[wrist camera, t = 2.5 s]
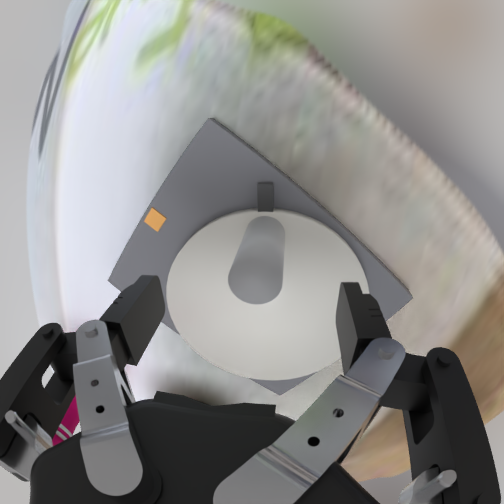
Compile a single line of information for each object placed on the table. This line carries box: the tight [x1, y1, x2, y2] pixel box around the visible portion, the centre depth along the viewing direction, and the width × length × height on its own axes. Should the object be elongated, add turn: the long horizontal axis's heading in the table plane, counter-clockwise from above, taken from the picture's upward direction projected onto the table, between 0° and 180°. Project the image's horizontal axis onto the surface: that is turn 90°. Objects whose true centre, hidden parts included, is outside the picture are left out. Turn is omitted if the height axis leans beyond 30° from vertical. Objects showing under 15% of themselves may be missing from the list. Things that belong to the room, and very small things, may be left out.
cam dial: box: [166, 183, 369, 380], centre depth 19 cm, size 18×16×7 cm
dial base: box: [108, 118, 413, 395], centre depth 23 cm, size 21×17×1 cm
